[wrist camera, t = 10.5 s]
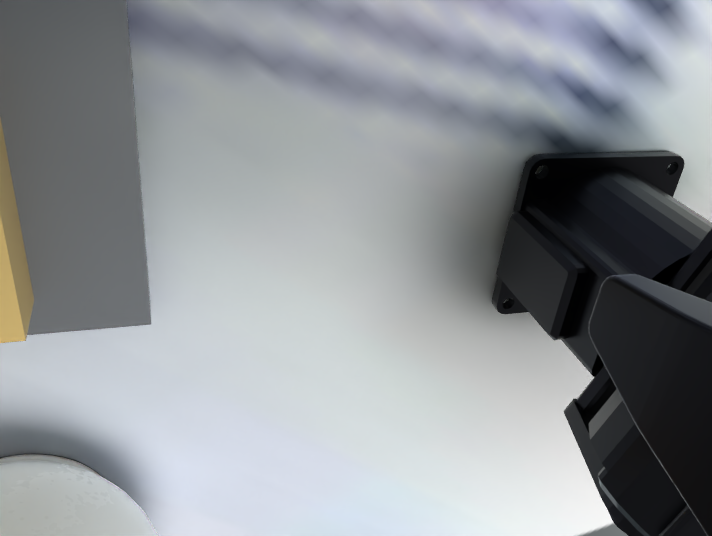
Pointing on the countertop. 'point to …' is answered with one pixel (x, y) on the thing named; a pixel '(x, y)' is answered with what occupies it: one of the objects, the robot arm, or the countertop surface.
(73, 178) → the multicoloured flat piece
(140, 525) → the lidded jar
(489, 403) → the countertop surface
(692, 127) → the countertop surface
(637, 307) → the robot arm
